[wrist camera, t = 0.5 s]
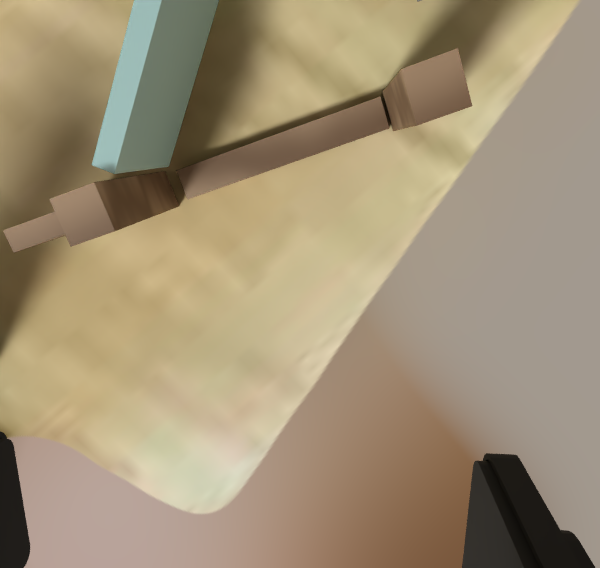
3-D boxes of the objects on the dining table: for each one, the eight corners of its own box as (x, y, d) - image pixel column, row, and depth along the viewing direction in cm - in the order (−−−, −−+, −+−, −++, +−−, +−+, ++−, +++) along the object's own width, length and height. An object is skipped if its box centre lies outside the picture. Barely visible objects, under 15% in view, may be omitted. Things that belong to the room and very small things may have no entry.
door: (151, 159, 34) (91, 165, 26) (217, -65, 30) (171, -143, 22) (191, 175, 34) (144, 185, 26) (261, -47, 30) (232, -118, 22)
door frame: (93, 197, 36) (-3, 218, 26) (420, 78, 32) (457, 47, 22) (108, 230, 36) (19, 264, 26) (431, 117, 33) (472, 106, 23)
